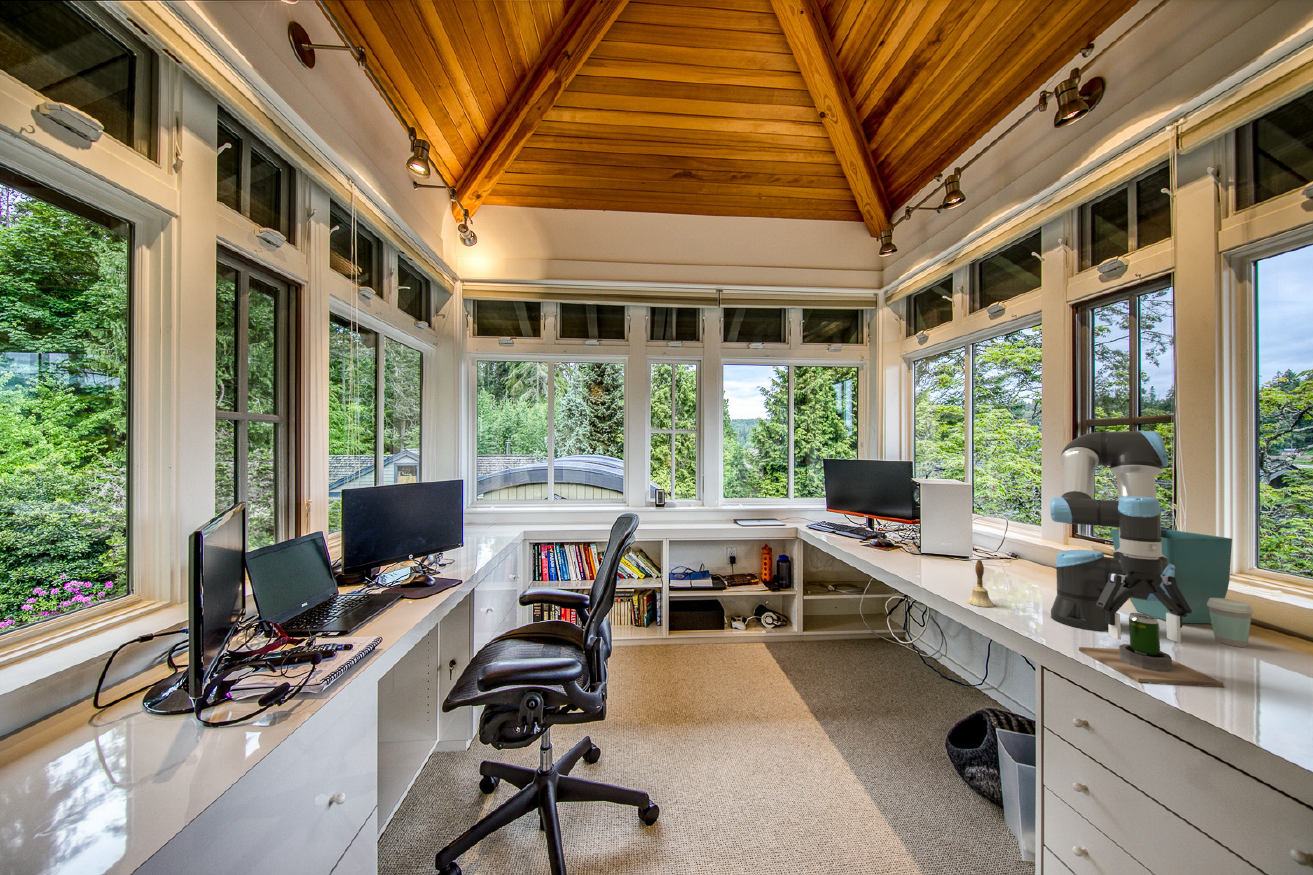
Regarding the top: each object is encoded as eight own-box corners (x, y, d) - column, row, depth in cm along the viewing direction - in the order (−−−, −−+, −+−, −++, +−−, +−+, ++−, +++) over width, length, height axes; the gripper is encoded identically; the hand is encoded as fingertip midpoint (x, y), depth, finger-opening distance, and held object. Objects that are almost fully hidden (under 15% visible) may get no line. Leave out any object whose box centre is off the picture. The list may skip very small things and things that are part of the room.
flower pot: (1112, 606, 165) (1109, 528, 166) (1169, 607, 164) (1166, 528, 165) (1172, 627, 145) (1168, 538, 146) (1238, 628, 144) (1234, 538, 145)
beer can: (1159, 669, 114) (1156, 621, 115) (1128, 662, 119) (1126, 615, 119) (1163, 664, 117) (1160, 616, 118) (1133, 656, 122) (1131, 611, 122)
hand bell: (963, 599, 173) (962, 557, 174) (988, 601, 171) (987, 558, 172) (972, 606, 165) (971, 562, 166) (998, 608, 163) (997, 563, 164)
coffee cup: (1265, 650, 128) (1263, 607, 128) (1228, 648, 130) (1226, 605, 130) (1233, 638, 136) (1231, 597, 137) (1198, 636, 138) (1197, 596, 138)
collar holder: (1078, 650, 128) (1078, 636, 128) (1151, 653, 126) (1150, 639, 126) (1138, 682, 110) (1137, 665, 110) (1223, 686, 108) (1222, 669, 108)
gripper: (1099, 558, 117) (1102, 642, 116) (1210, 560, 114) (1214, 647, 113) (1076, 551, 124) (1079, 630, 123) (1180, 554, 121) (1183, 635, 120)
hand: (1144, 638), depth 118 cm, fingers open, 13 cm apart
